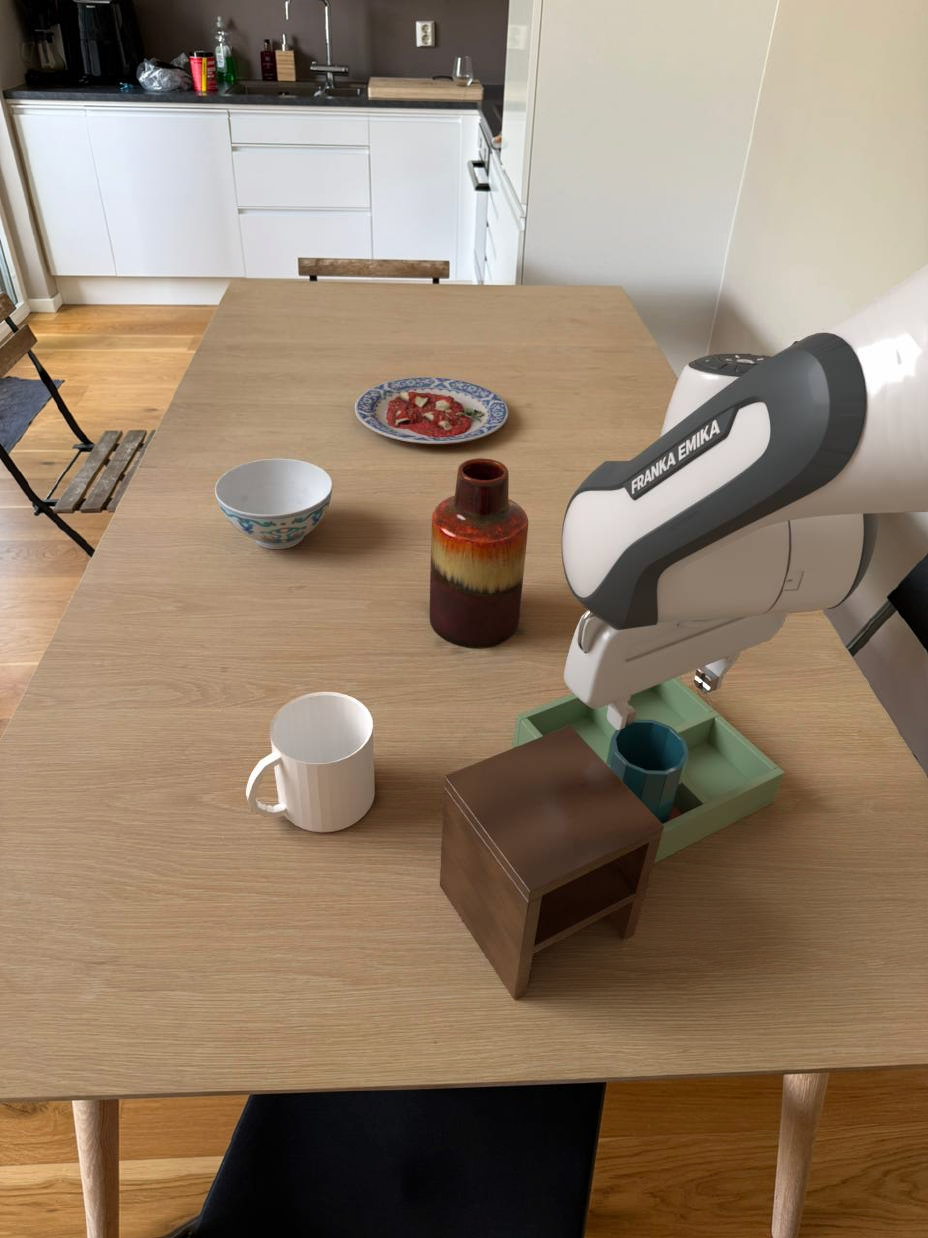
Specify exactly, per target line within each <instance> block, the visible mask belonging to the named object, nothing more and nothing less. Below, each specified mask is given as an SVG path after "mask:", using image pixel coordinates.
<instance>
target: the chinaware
mask: <svg viewBox="0 0 928 1238" xmlns="http://www.w3.org/2000/svg"><path fill="white" fill-rule="evenodd" d="M333 487H334V485H333V480H332V477H331V476H330V475H329V473H328V472H327V471H326V470H324V469H323V468H322V467H319V466H318V465H316V464H313V463H311V462H307V461H303V460H299V459H293V458H266V459H259V460H253V461H249V462H245V463H243V464H239V465H237V466H235V467H233V468H231V469H229V470H227V471H226V472H224V474H222V475H221V476H220V477H219V478H218V480H217V481H216V483H215V486H214V494H215V498H216V501H217V503H218V505H219V508H220V510H221V512H222V513H223V515H224V516H225V518H226V519H227V521H228V522H229V523H230V524H231V526H233V527H234V528H235V529H236V530H237V531H238V532H240V533H241V534H242V535H244V536H246V537H248V538H250V539H252V540H254V541H255V543H256V544H257V545H259V546H261V547H263V548H266V549H269V550H270V549H271V550H283V549H289V548H292V547H294V546H296V545H298V544H299V543H301V542H302V541H303V539H304V538H305V536H307V535H308V534H310V532H312V531H313V530H314V529H315V528H316V527H317V526H318V525H319V524H320V523H321V521H322V520H323V518H324V517H325V515H326V512H327V511H328V508H329V506H330V502H331V499H332V493H333V489H334V488H333Z"/></svg>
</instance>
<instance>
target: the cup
mask: <svg viewBox="0 0 928 1238" xmlns="http://www.w3.org/2000/svg"><path fill="white" fill-rule="evenodd" d="M688 757H689V752H688V748H687V744H686V741H685V739H684V738H683V737H682V736H681V735H680V734H679V733H678V732H677V731H675V730H674V729H673V728H671V727H670V726H668V725H665V724H663V723H660V722H658V721H655V720H642V719H635V720H634V724H632V725H630V726H628V727H625V728H623V729H621V730H616V731H615V732H614V734H613V736H612V737H611V742H610V747H609V752H608V757H607V762H606V764H607V765H608V766H609V767H610V768H611V770H612V771H613V772H614V773H615V774H616V775H617V776H618V777H619V778H620V779H621V780H622V781H623V782H624V783H625V785H626V786H627V787H628V788H629V789H630V790H631V791H632V792H633V793H634V794H635V795H636V796H637V797H638V798H639V800H640V801H641V802H642V803H643V804H644V805H645V806H646V807H647V808H648V809H649V810H650V811H651V812H652V813H653V815H654V816H655V817H656V818H657V819H658V820H659V821H660V822H661V823H662V824H664V823H666V822H668V821H670V820H671V817H672V813H673V810H674V806H675V803H676V799H677V796H678V792H679V789H680V785H681V782H682V778H683V775H684V771H685V767H686V764H687V760H688Z"/></svg>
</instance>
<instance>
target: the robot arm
mask: <svg viewBox="0 0 928 1238" xmlns="http://www.w3.org/2000/svg"><path fill="white" fill-rule="evenodd" d="M895 513H896V514H897V513H901V514H902V513H928V264H926V265H924V266H923V267H921V268H920V269H918V270H917V271H915V272H914V273H913V274H911V275H910V276H908V277H907V278H905V279H903V280H902V281H901V282H899V283H898V284H896V285H895V286H893V287H892V288H890V289H888V290H887V291H885V292H884V293H882V294H880V295H879V296H877V297H875V298H874V299H871V300H870V301H869V302H867V303H865V304H864V305H862V306H860V307H859V308H857V309H855V310H853V311H851V312H850V313H847V314H846V315H843V316H842V317H840V318H839V319H837V320H835V321H834V322H832V323H830V324H829V325H827V326H825V327H823V328H821V329H819V331H817V332H815V333H814V334H810V335H807V336H806V337H804V338H802V339H800V340H798V341H797V342H795V343H793V344H791V345H790V346H788V347H786V348H784V349H783V350H781V351H779V352H777V353H776V354H774V355H772V356H771V355H766V354H752V353H718V354H708V355H704V356H701V357H698V358H696V359H694V360H692V361H690V362H688V363H687V364H686V365H685V366H684V368H683V369H682V371H681V372H680V375H679V377H678V379H677V382H676V384H675V386H674V389H673V392H672V395H671V398H670V401H669V404H668V407H667V410H666V414H665V417H664V420H663V425H662V428H661V432H660V436H659V438H658V439H656V440H655V441H654V442H653V443H652V444H650V445H648V446H647V448H645V449H643V451H642V452H639V454H637V455H635V456H634V457H633V458H631V459H630V460H605V461H604V462H602V463H601V464H600V465H599V466H598V467H596V468H595V469H594V470H592V472H591V473H590V474H589V475H588V476H587V477H586V478H585V479H584V481H582V482H581V484H580V485H579V487H578V488H577V489H576V490H575V492H574V493H573V494H572V496H571V497H570V499H569V501H568V503H567V506H566V510H565V513H564V517H563V521H562V529H561V559H562V567H563V572H564V575H565V580H566V584H567V585H568V588H569V590H570V592H571V593H572V595H573V596H574V598H576V600H577V601H578V602H579V603H580V604H581V605H582V606H583V607H584V608H586V612H584V613H583V614H582V615H581V617H580V619H579V621H578V624H577V626H576V628H575V631H574V632H573V637H572V639H571V642H570V646H569V650H568V653H567V657H566V662H565V666H564V670H563V681H564V683H565V685H566V686H567V687H568V689H569V690H570V691H571V692H572V693H574V694H575V695H576V696H577V697H578V698H579V699H580V700H581V701H582V702H583V703H585V704H586V705H587V706H589V707H590V708H592V709H597V708H600V707H603V706H605V705H608V704H609V706H608V711H607V719H608V721H609V723H610V724H611V725H612V726H613V727H614V728H615V729H616V730H621V729H623V728H625V727H628V726H630V725H632V724H634V720H633V719H634V718H635V716H636V710H635V709H634V708H633V707H632V706H630V705H628V702H627V701H629V700H630V697H631V695H633V694H635V693H638V692H640V691H643V690H645V689H648V688H651V687H653V686H656V685H658V684H661V683H663V682H666V681H668V680H671V679H673V678H676V677H678V678H679V677H681V676H683V675H686V674H688V673H691V672H694V671H695V676H694V679H693V683H694V686H695V687H696V688H697V689H699V690H701V692H702V693H703V694H705V695H707V694H710V693H712V692H715V691H717V690H719V689H720V688H721V687H722V684H723V680H724V677H725V675H726V674H727V673H728V672H729V671H730V669H731V668H732V667H733V665H735V663H736V662H737V660H738V659H739V658H740V657H741V656H740V655H741V652H743V651H746V650H749V649H751V648H753V647H756V646H759V645H762V644H764V643H766V642H769V641H771V640H772V639H773V638H774V637H775V636H777V634H778V633H779V632H780V630H781V629H782V628H783V626H784V624H785V622H786V619H787V617H788V615H790V614H802V613H811V612H817V611H822V610H832V609H835V608H837V607H839V606H840V605H842V604H843V603H844V602H845V601H847V600H848V598H849V597H851V595H852V594H853V593H854V592H855V591H856V589H857V588H858V587H859V586H860V584H861V582H862V581H863V580H864V577H865V575H866V573H867V571H868V569H869V566H870V564H871V561H872V558H873V556H874V552H875V549H876V543H877V539H878V531H879V516H878V515H879V514H895Z"/></svg>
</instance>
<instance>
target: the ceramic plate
mask: <svg viewBox="0 0 928 1238" xmlns="http://www.w3.org/2000/svg"><path fill="white" fill-rule="evenodd" d="M354 413H355V415H356V416H355V417H357V419H358V420H359V422H360V423H361V424H363V426H365V427H366V428H368V429H369V430H371V431H373V432H375V433H376V434H379V435H382V436H385V437H388V438H390V439H394V440H398V441H403V442H408V443H414V444H424V445H448V444H459V443H465V442H470V441H475V440H477V439H481V438H484V437H486V436H489V435H491V434H493V433H494V432H496V431H498V430H499V429H500V428H502V426H504V424H505V423H506V422H507V419H508V417H509V408H508V406H507V403H506V402H505V400H503V399H502V398H501V397H500V396H499V395H498V394H497V393H495V392H493V391H491V390H489V389H488V388H486V387H484V386H481V385H479V384H475V383H472V382H468V381H464V380H459V379H454V378H447V377H434V376H432V377H431V376H421V377H407V378H400V379H394V380H389V381H386V382H383V383H380V384H378V385H374V386H373V387H370V388H369V389H367V390H366V391H364V392H363V393H361V395H360V396H358V398H357V399H356V401H355V404H354Z"/></svg>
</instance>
